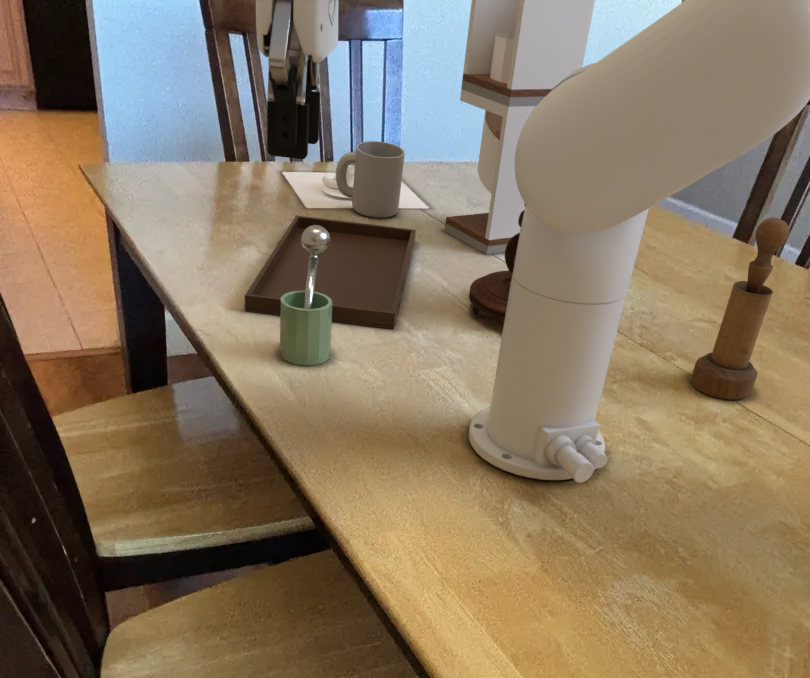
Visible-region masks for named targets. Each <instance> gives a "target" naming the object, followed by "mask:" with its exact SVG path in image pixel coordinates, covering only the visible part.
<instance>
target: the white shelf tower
mask: <svg viewBox="0 0 810 678" xmlns="http://www.w3.org/2000/svg"><path fill="white" fill-rule="evenodd" d="M595 3H596V0H471V4H470V12H469V21H468V30H467V38H466V46H465V55H464V63H463V72H462V73H463V74H462V80H461V89H460V98H459V101H461V102H463V103H466V104H468V105H471V106H474V107H476V108H477V109H481V110H484V118H483V124H482V132H481V133H482V134H481V141H480V148H479V155H478V163H477V174H478V178H479V180H480V182H481V183H482V185H483V187H484V188H485V189H486V191H488V192H489V193H490V194H491V196H490V202H489V210H488V212H483V213H481V212H480V213H473V214H472V213H471V214H462V215H453V216H452V215H451V216H446V217H445V223H444V232H446V233H447V234H449V235H451V236H453V237H455V238H456V239H458V240H460V241H461V242H463V243H465V244H467V245H469V246H470V247H472V248H474V249H475V250H478V251H479V252H481V253H483V254H485V255H493V254H503V253H505V249H506V246H507V244H508V242H509V240H510V239H511V238H512V237H513V236H514V235H516V234H518V233H520V229H521V227H520V226H519V223H518V220H519V216H520V214H521V212H522V211H523V210H525V205H524V201H523V199H522V197H521V195H520V192H519V190H518V186H517V183H516V177H515V168H514V165H515V152H516V146H517V142H518V139H519V136H520V133H521V130H522V128H523V126H524V124H525V122H526V120H527V118H528V117H529V115H530V114H531V112H532V111H533V110H534V108H535V107H536V106H537V105H538V104H539V102H540V101H541V100H542V99H543V98H544V97H546V96H547V95H548V93H549V92H550V91H551V90H552V89H553V88H554V87H555V86H556V85H557V84H558V83H560V82H561V81H562V80H563V79H564V78H566V77H567V76H568V75H570V74H571V73H573V72H574V71H576V70H578V69H580V68H582V67H584V61H585V56H586V51H587V45H588V39H589V34H590V30H591V24H592V18H593V12H594V7H595Z"/></svg>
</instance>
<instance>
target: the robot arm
mask: <svg viewBox="0 0 810 678" xmlns="http://www.w3.org/2000/svg"><path fill="white" fill-rule="evenodd" d="M255 30H256V31H255V32H256V43H257V49H258V50H259V52H260V53H261V54H262V55H263V56H264V57H265V58H268V64H267V65H268V72H267V73H268V74H267V75H268V76H267V100H266V138H267V139H266V150H267V151H266V152H267V153H268V155H269V156H272V157H277V158H278V157H279V158H286V159H287V158H289V159H297V160H305V159H306V158H307V156H309V155H308V153H309V145H316V144H317V143H318V142H319V139H320V114H321V113H320V110H321V92H320V91H319V89H320V63H321V62H322V61H324V60H325V59H326V58H327V57H328V56H329V55H330V54H332V53H333V52H334V50H335V49H336V48H337V47H338V43H339V0H255ZM809 102H810V0H684V1H682V2H681V3H679V4H678V5H677V6H675V7H674V8H672V9H671V10H670V11H667V13H666V14H664V15H663V16H661V17H660V18H658V19H657V20H656V21H654V22H653V23H651V24H650V25H648V26H647V27H646V28H644V29H642V30H641V31H639V32H638V33H637V34H635V35H634V36H632V37H631V38H630V39H628V40H627V41H625V42H623V44H621V45H620V46H618V47H617V48H616V49H614V50H612V51H611V52H609V53H607V55H605V56H604V57H602V58H601V59H599V60H598V61H596V62H593V63H590V64H586V65H583V66H582V68H580V69H578V70H576V71H574V72H573V73H571V74H570V75H568V76H567V77H566V78H564V79H563V80H562V81H561V82H560V83H558V84H557V85H556V86H555V87H554V88H553V89H552V90H551V91H550V92H549V93H548V95H547V96H546V97H544V98H543V99H542V100H541V101H540V102H539V104H538V105H537V106H536V107H535V108H534V110H533V111H532V112H531V114H530V115H529V117H528V118H527V120H526V122H525V124H524V126H523V128H522V130H521V133H520V136H519V139H518V142H517V146H516V152H515V165H514V168H515V177H516V183H517V186H518V190H519V192H520V195H521V197H522V199H523V201H524V203H525V204H526V206H525V211H524V216H523V220H522V225H521V230H520V236H519V241H518V247H517V252H516V258H515V264H514V270H513V275H512V280H511V285H510V291H509V297H508V303H507V309H506V315H505V321H504V322H503V326H502V327H503V328H502V334H501V339H500V346H499V350H498V351H499V352H498V359H497V363H496V364H497V365H496V369H495V375H494V382H493V386H492V387H493V389H492V394H491V400H490V406H488V407H486V408H484V409H481V410H480V411H479V412H478V413H476V414H475V415H474V416H473V418H472V419H471V421H470V424H469V428H468V440H469V443H470V446H471V447H472V448H473V450H474V452H476V454H478V456H480V457H481V458H482V460H483V461H484V460H485V461H486V462H488V463H489V464H491V466H494V467H496V468H498V469H501V470H502V471H504V472H508V473H510V474H513V475H516V476H520V477H524V478H529V479H535V480H542V481H565V480H572V479H573V480H574V482H576V483H580V484H581V483H585V482H586V481H588V480H589V479H590V478H591V477H592V475H593V474H594V472H595V470H597V469H602V468H604V467H605V466H606V465H607V463H608V462H609V457H608V455H606V453H605V452H606V442H605V439H604V437H603V436H602V434H601V432H600V427H601V424H600V423H599V422H598V421H597V420H596V418H597V413H598V410H599V406H600V402H601V398H602V394H603V391H604V386H605V382H606V378H607V375H608V372H609V371H608V370H609V366H610V364H611V363H610V362H611V358H612V356H613V355H612V354H613V351H614V346H615V342H616V339H617V334H618V331H619V327H620V322H621V320H622V315H623V310H624V307H625V303H626V299H627V296H628V292H629V288H630V285H631V281H632V277H633V273H634V269H635V266H636V260H637V258H638V253H639V249H640V244H641V242H642V237H643V233H644V230H645V225H646V221H647V218H648V213H649V210H650V208H652V207H654V206H655V205H657V204H659V203H661V202H662V201H664V200H666V199H668V198H669V197H671V196H673V195H675V194H676V193H679V192H680V191H682V190H684V189H685V188H687V187H689V186H690V185H692V184H694V183H696V182H698V181H700V180H701V179H703V178H704V177H706V176H708V175H710V174H711V173H713V172H715V171H717V170H718V169H721V168H722V167H723V166H725V165H727V164H729V163H731V162H732V161H734V160H736V159H738V158H740V157H741V156H742V155H744V154H746V153H748V152H750V151H751V150H753V149H754V148H756V147H758V146H759V145H760V144H763V143H764V142H765V141H767V140H769V139H770V138H771V137H772V136H774V135H775V134H777V133H778V132H780V130H782V129H783V128H784V127H785V126H787V125H788V124H789V123H790V122H791V121H792V120H793V119H794V118H796V116H798V114H800V113H801V111H802V110H803V109H804V108H805V107H806V106H807V104H808V103H809Z"/></svg>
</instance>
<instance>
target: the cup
mask: <svg viewBox="0 0 810 678" xmlns="http://www.w3.org/2000/svg"><path fill="white" fill-rule="evenodd" d="M405 153H406V151H405V150H404V148H402V147H401V146H399V145H396V144H393V143H390V142H386V141H378V140H366V141H362V142H360V143H357V144H356V146H355V152H354V151H350V152H346V153H344V154H343V155H342V156H340V158H339V160H338V161H337V165H336V168H335V173H336V183H337V186H338V189H339V190H340V192H341V193H342V194H343V195H345V196H346V197H349V198H352V206H353V208H352V209H353V210H354V211H355V212H356V213H358V214H359V215H362V216H365V217H368V218H373V219H374V218H375V219H386V218H391V217H393V216H395V215H396V214H397V212H398V211H399V208H398V207H399V199H400V190H401V181H402V180H403V173H404V165H405ZM352 164H354V166H355V170H354V183H353V188H352V187H349V186H348V184H347V180H346V172H347V168H348V166H349V165H352ZM402 182H403V181H402Z"/></svg>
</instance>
